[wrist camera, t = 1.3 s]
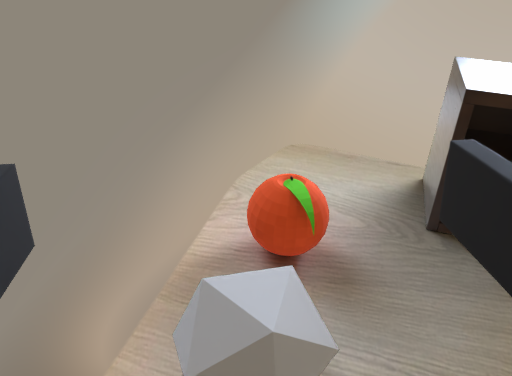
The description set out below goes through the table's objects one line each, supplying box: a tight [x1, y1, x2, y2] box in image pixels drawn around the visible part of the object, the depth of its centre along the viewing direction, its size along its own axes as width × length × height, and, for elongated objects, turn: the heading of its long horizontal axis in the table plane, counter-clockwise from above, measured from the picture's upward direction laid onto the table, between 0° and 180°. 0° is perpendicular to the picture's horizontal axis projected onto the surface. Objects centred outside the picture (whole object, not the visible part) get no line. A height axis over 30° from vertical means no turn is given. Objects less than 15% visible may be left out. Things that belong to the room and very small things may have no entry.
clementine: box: [247, 174, 329, 256], centre depth 40 cm, size 8×7×7 cm
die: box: [173, 265, 339, 376], centre depth 28 cm, size 8×9×10 cm
